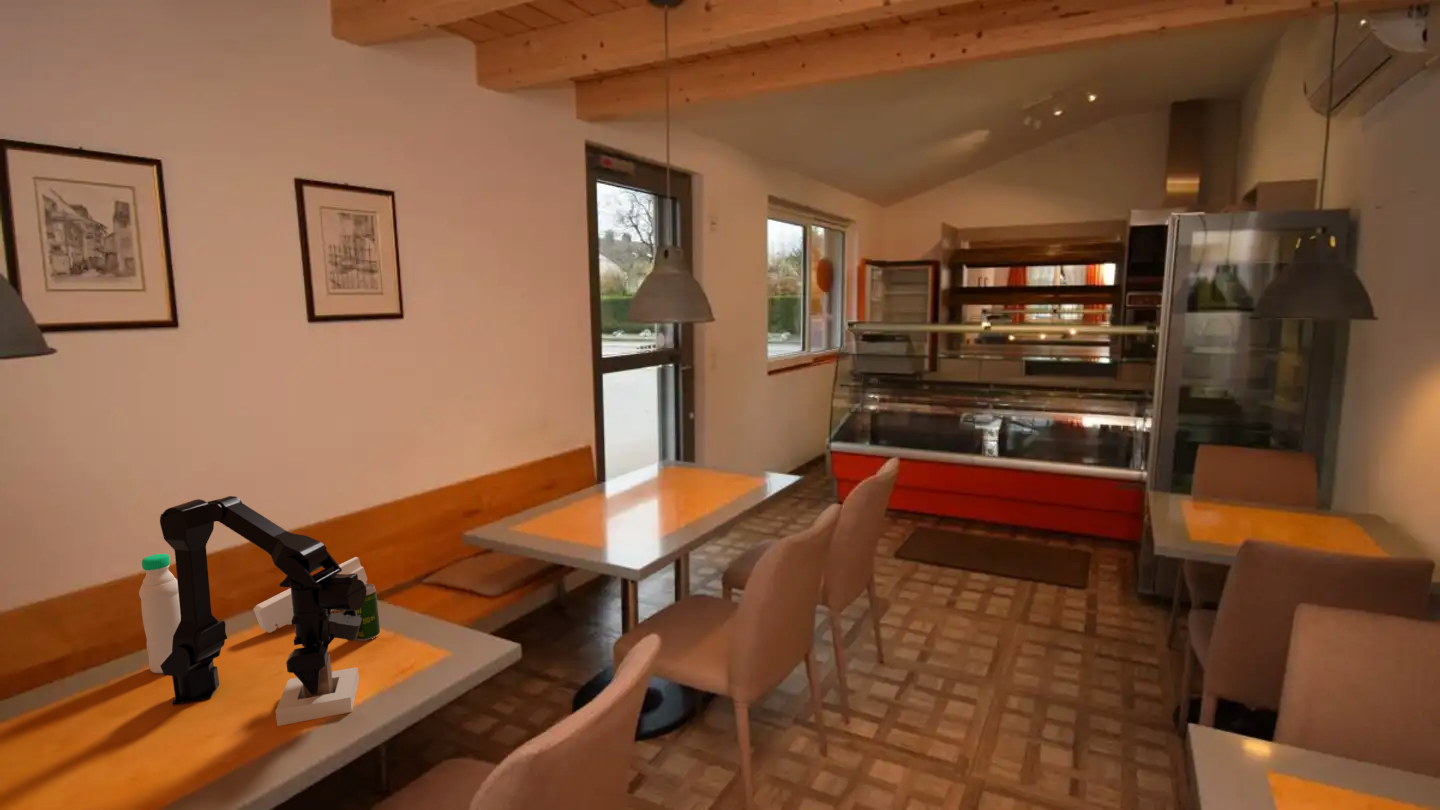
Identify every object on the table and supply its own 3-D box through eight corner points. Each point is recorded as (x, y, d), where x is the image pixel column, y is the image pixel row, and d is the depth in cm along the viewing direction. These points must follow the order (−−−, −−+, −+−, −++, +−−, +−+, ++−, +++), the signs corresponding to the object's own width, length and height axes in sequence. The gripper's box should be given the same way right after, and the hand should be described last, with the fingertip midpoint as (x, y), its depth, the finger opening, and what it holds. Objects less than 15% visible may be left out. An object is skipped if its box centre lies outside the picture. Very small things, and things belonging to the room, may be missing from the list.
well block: (277, 726, 137) (275, 711, 136) (290, 693, 148) (288, 679, 148) (351, 711, 141) (350, 697, 141) (358, 680, 153) (357, 667, 152)
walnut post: (306, 710, 142) (301, 666, 141) (310, 699, 146) (305, 656, 145) (331, 705, 143) (326, 662, 142) (333, 694, 147) (329, 652, 146)
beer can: (370, 629, 176) (365, 582, 175) (385, 634, 174) (380, 585, 172) (349, 639, 172) (344, 590, 170) (365, 643, 169) (360, 594, 167)
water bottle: (185, 670, 158) (169, 559, 155) (145, 677, 156) (128, 564, 152) (194, 656, 165) (180, 548, 161) (156, 662, 162) (141, 553, 159)
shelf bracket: (376, 601, 193) (362, 559, 189) (278, 657, 175) (260, 611, 171) (365, 596, 196) (351, 555, 193) (268, 650, 178) (250, 606, 174)
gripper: (350, 619, 136) (358, 698, 138) (361, 583, 153) (368, 654, 155) (281, 630, 132) (291, 711, 134) (300, 592, 149) (308, 664, 152)
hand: (318, 683), depth 144 cm, fingers open, 8 cm apart
